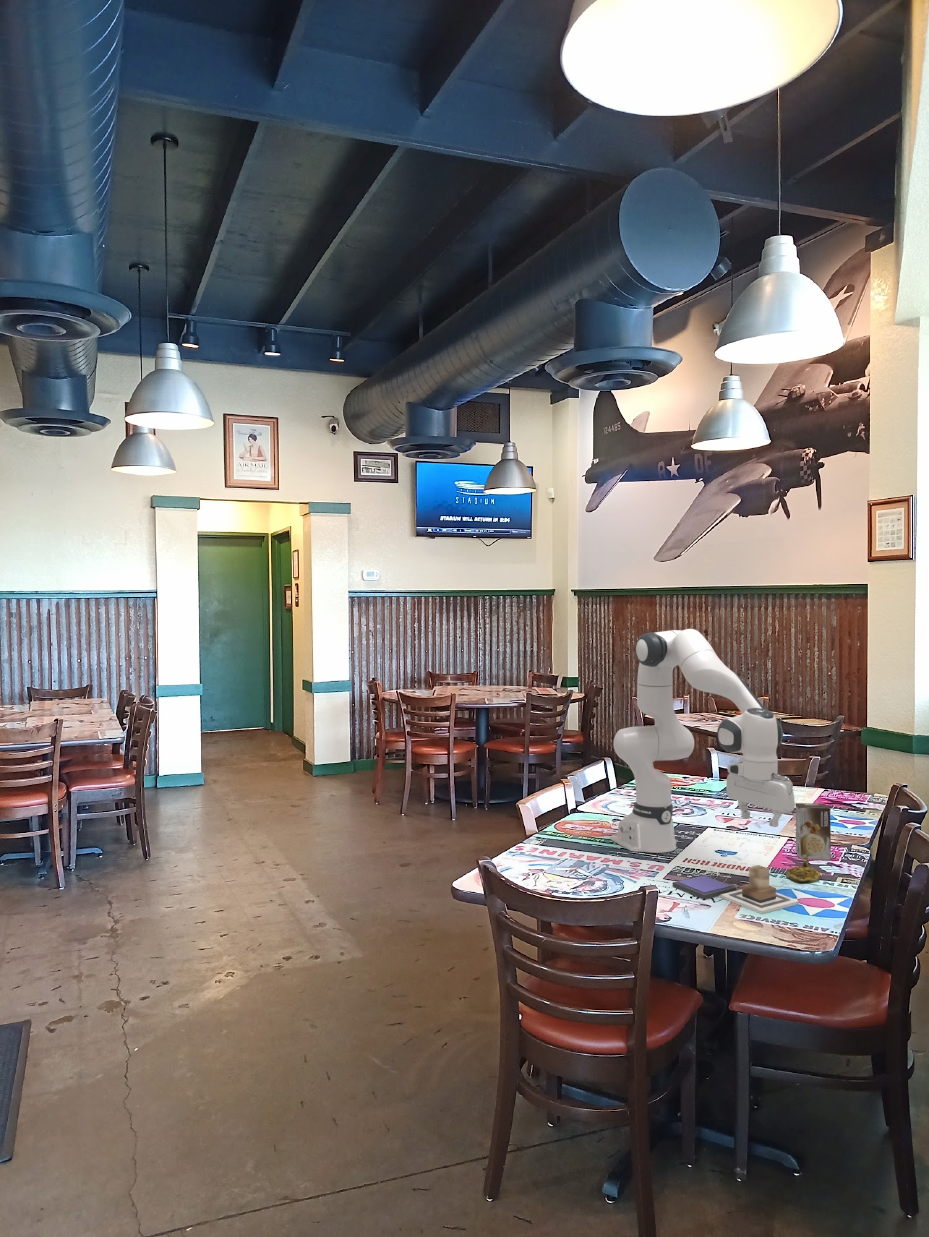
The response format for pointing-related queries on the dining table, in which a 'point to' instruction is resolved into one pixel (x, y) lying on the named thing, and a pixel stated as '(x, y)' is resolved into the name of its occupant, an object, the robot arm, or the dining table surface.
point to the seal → (803, 873)
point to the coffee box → (813, 831)
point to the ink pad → (704, 887)
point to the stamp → (759, 885)
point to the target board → (763, 907)
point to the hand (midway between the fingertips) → (759, 822)
